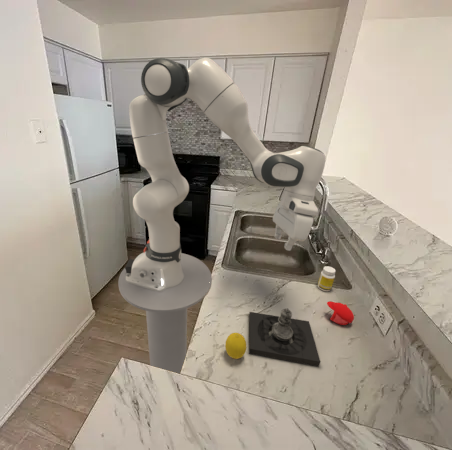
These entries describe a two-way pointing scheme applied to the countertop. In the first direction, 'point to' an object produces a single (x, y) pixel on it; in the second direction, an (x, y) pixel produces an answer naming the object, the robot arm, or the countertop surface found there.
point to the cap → (341, 313)
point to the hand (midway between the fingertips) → (281, 243)
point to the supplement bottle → (326, 278)
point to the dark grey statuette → (282, 328)
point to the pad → (266, 346)
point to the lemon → (235, 345)
